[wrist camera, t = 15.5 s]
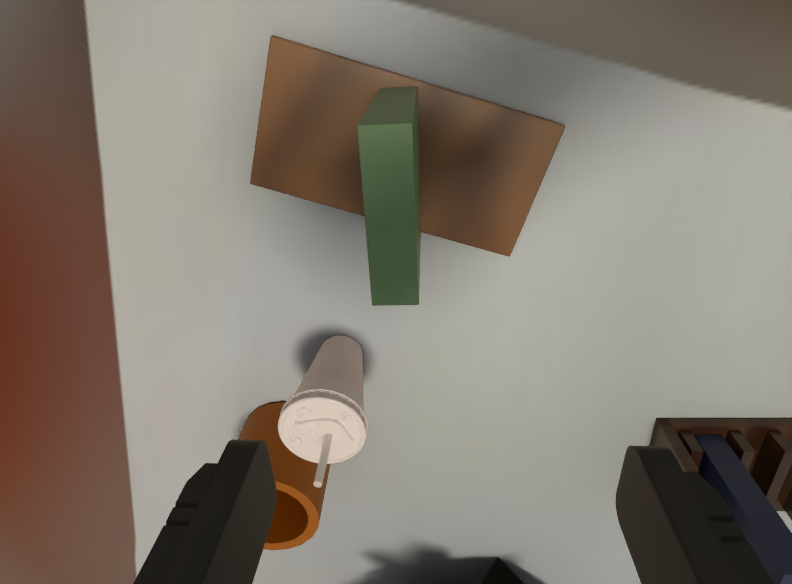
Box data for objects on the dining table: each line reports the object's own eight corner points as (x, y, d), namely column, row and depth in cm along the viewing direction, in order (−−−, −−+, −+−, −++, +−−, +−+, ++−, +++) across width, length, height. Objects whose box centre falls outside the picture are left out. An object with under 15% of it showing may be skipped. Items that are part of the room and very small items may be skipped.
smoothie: (366, 390, 46) (345, 525, 34) (298, 371, 46) (251, 502, 33) (387, 334, 43) (371, 460, 31) (313, 313, 43) (268, 433, 30)
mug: (215, 460, 51) (177, 540, 44) (271, 385, 46) (239, 461, 39) (291, 498, 54) (268, 581, 46) (353, 430, 49) (339, 511, 41)
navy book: (722, 434, 45) (822, 575, 34) (698, 503, 49) (780, 649, 38) (694, 434, 45) (784, 574, 34) (673, 503, 50) (746, 648, 38)
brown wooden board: (563, 124, 34) (565, 125, 34) (508, 253, 39) (509, 257, 39) (273, 35, 33) (270, 35, 32) (252, 181, 37) (249, 184, 37)
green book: (417, 86, 33) (412, 122, 22) (421, 217, 37) (418, 305, 26) (380, 87, 33) (356, 125, 22) (388, 217, 38) (372, 305, 26)
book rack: (844, 417, 45) (899, 471, 40) (802, 503, 50) (847, 560, 45) (656, 418, 46) (686, 470, 41) (635, 501, 51) (659, 557, 46)
